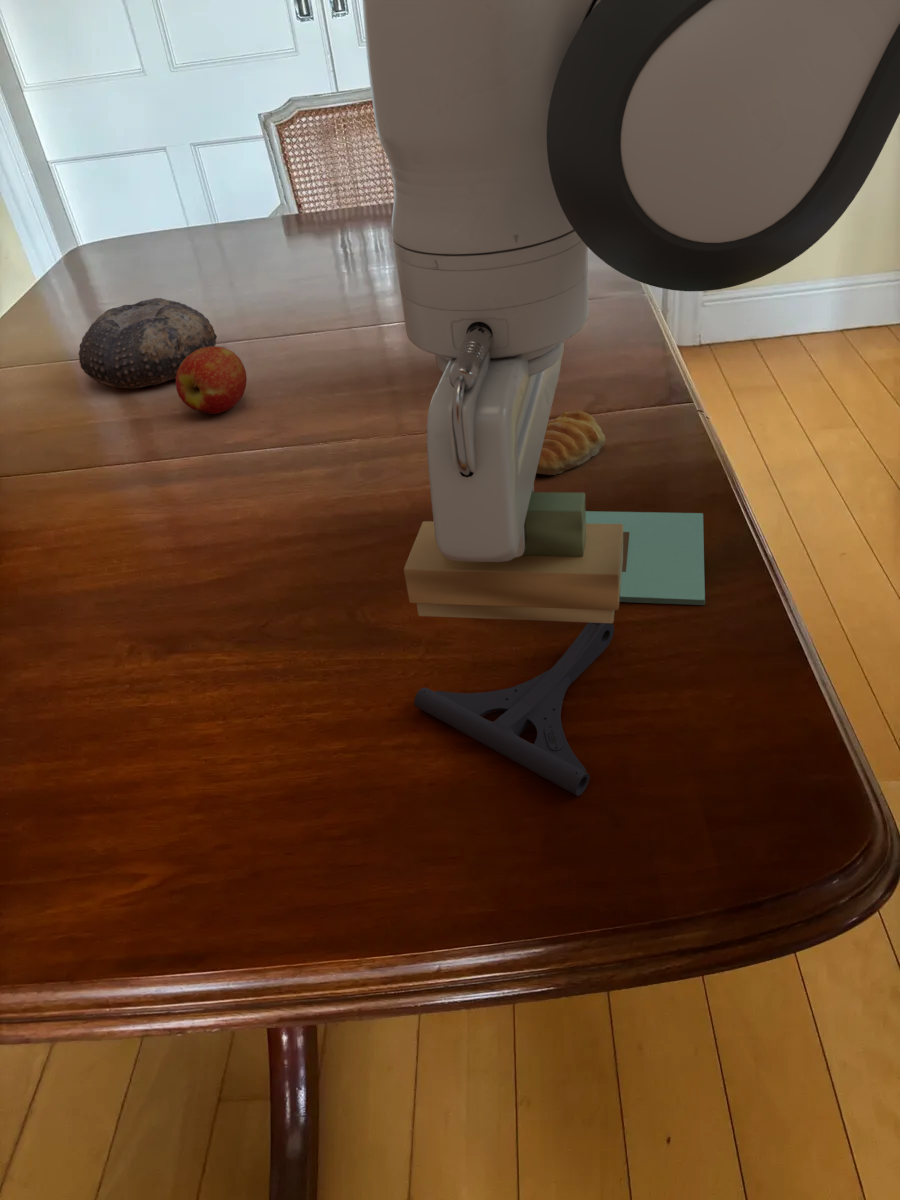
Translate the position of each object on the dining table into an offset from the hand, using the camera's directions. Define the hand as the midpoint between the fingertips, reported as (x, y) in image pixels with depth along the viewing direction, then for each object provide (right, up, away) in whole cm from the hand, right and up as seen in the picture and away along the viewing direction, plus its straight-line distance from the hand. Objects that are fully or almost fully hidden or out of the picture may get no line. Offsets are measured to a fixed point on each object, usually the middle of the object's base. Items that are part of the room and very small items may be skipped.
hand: (514, 532), depth 51 cm
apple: (-33, +20, +64) cm, 75 cm away
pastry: (+8, +11, +44) cm, 47 cm away
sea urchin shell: (-46, +29, +77) cm, 94 cm away
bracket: (+4, -11, +16) cm, 20 cm away
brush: (0, -4, +3) cm, 5 cm away
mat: (+8, 0, +30) cm, 31 cm away
